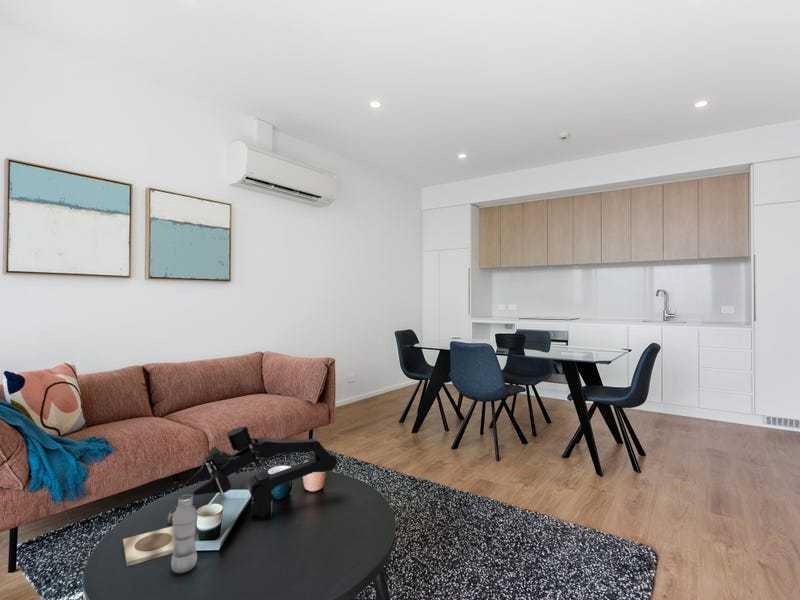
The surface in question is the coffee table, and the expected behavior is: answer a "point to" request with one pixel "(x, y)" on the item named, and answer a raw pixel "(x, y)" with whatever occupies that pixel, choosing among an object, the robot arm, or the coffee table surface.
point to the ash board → (148, 545)
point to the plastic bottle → (184, 535)
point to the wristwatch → (172, 514)
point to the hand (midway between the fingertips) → (190, 488)
